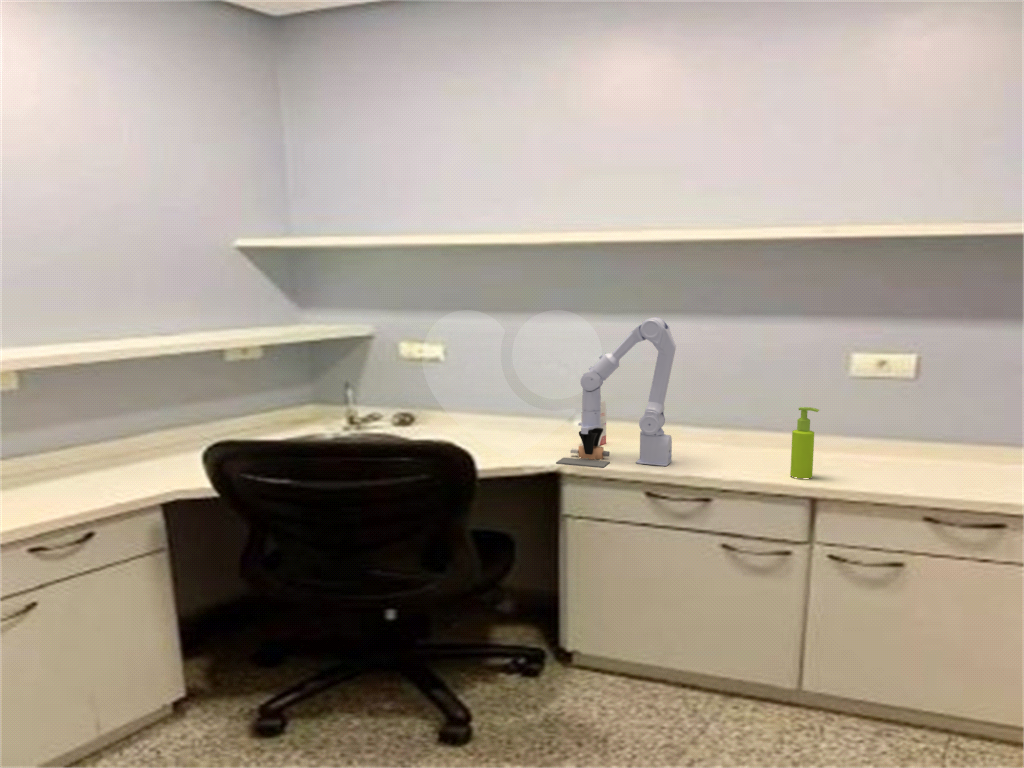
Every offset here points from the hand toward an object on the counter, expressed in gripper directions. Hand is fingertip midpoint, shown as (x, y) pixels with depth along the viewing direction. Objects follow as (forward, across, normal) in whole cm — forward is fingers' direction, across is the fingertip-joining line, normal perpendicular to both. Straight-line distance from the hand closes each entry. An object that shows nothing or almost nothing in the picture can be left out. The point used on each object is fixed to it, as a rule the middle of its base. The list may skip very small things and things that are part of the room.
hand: (590, 452), depth 260 cm
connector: (+2, 0, 0) cm, 2 cm away
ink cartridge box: (+2, -19, -5) cm, 20 cm away
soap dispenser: (+2, +1, +63) cm, 63 cm away
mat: (+2, +8, 0) cm, 8 cm away
